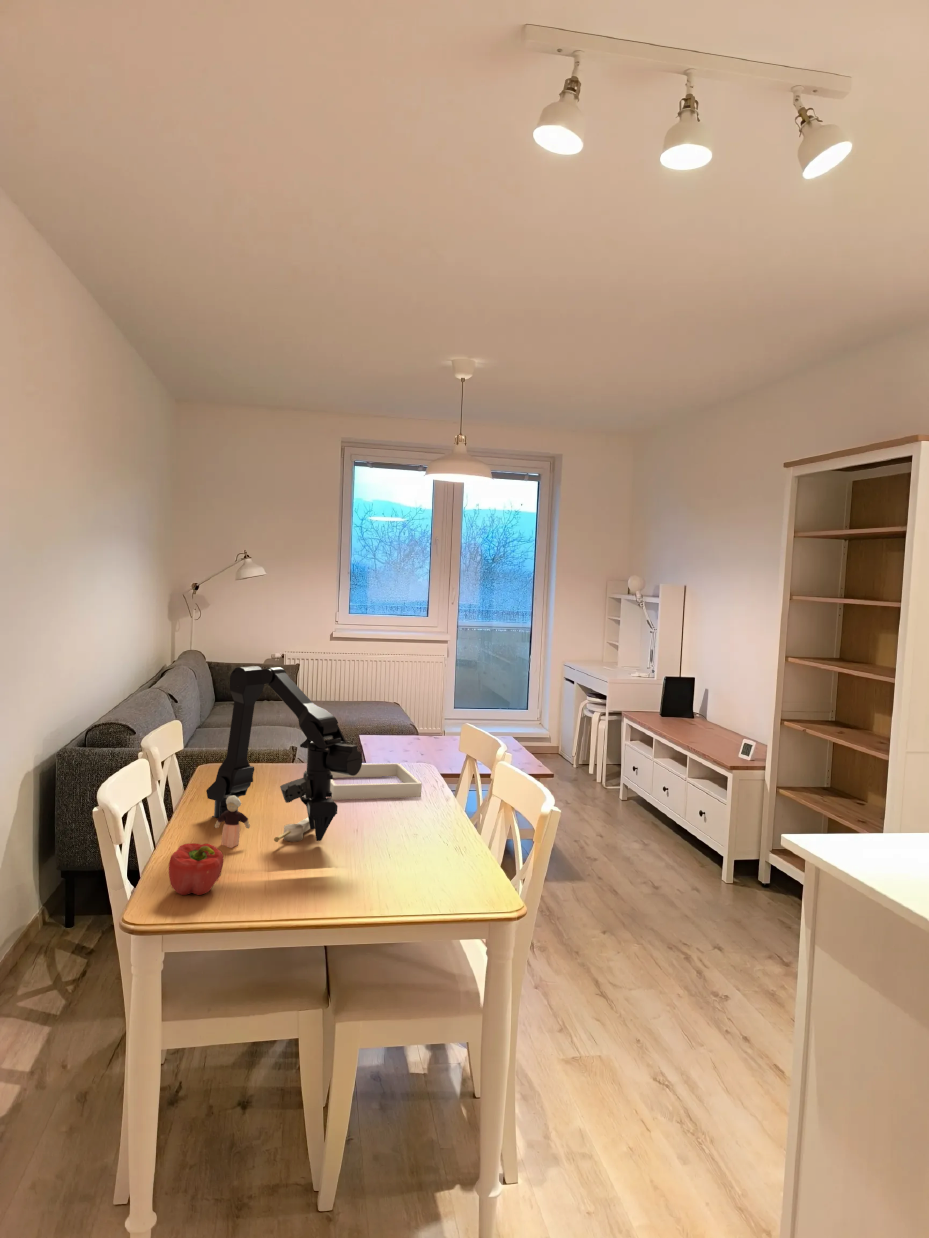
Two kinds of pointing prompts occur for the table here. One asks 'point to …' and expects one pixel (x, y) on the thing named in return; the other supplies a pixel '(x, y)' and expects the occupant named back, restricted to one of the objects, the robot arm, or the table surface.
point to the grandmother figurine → (232, 822)
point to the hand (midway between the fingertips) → (315, 834)
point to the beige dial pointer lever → (294, 831)
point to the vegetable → (195, 868)
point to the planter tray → (387, 790)
